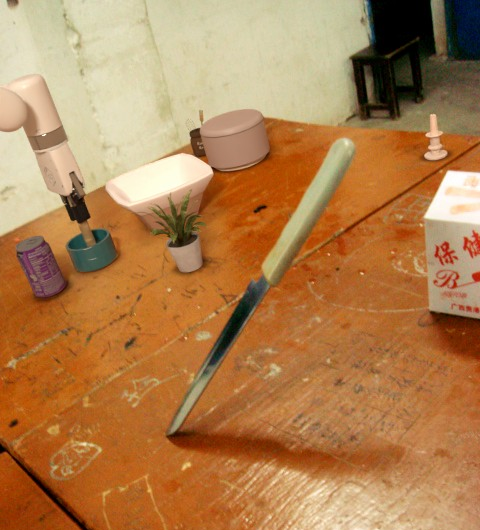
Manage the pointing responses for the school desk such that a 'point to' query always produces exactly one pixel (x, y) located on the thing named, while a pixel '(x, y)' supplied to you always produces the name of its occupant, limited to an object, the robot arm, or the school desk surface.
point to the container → (235, 139)
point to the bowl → (161, 187)
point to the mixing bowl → (92, 251)
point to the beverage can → (40, 266)
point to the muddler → (85, 230)
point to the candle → (434, 141)
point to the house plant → (181, 235)
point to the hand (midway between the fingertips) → (80, 219)
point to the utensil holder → (197, 139)
